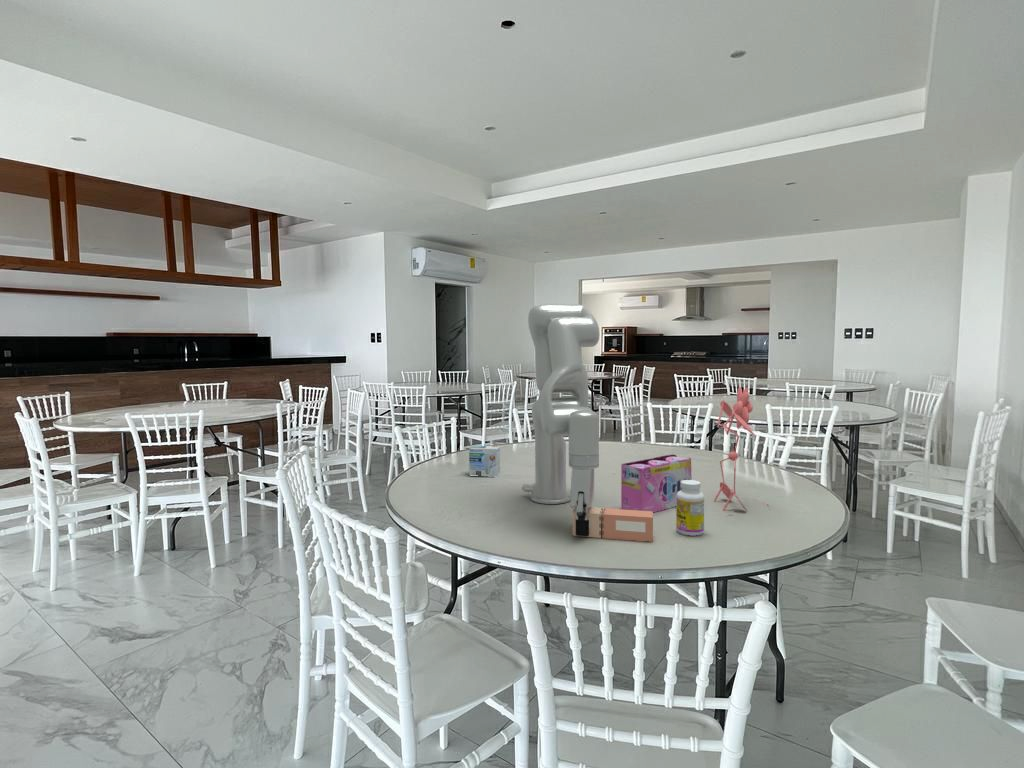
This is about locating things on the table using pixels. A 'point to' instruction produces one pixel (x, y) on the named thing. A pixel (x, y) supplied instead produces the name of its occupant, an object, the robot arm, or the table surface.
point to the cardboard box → (627, 524)
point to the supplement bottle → (690, 509)
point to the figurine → (742, 418)
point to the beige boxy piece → (591, 522)
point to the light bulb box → (484, 460)
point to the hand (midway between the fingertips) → (584, 530)
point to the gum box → (653, 482)
